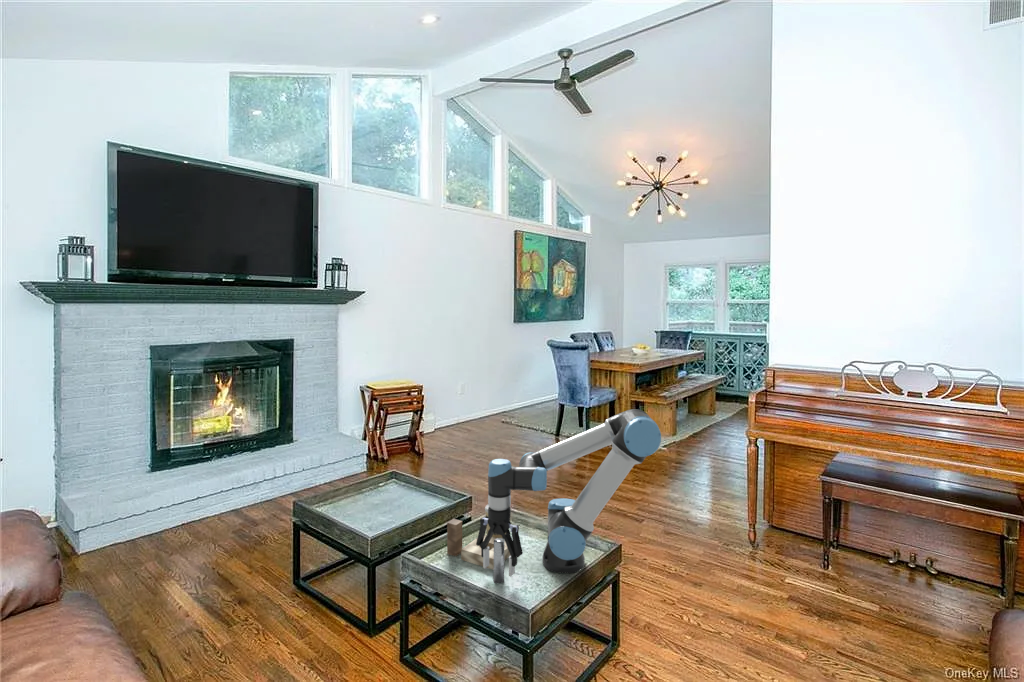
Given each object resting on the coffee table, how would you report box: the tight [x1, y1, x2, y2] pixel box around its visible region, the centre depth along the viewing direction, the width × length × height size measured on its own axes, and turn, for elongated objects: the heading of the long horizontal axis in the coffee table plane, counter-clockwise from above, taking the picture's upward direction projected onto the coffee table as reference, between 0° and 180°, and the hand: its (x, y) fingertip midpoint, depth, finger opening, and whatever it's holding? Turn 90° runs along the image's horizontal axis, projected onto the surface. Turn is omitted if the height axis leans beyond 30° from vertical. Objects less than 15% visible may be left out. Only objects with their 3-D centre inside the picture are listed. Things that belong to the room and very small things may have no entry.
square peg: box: [446, 518, 463, 557], centre depth 196 cm, size 4×4×12 cm
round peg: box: [492, 538, 505, 584], centre depth 177 cm, size 4×4×14 cm
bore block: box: [460, 534, 511, 571], centre depth 194 cm, size 14×14×4 cm
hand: (498, 570), depth 177 cm, fingers open, 9 cm apart
